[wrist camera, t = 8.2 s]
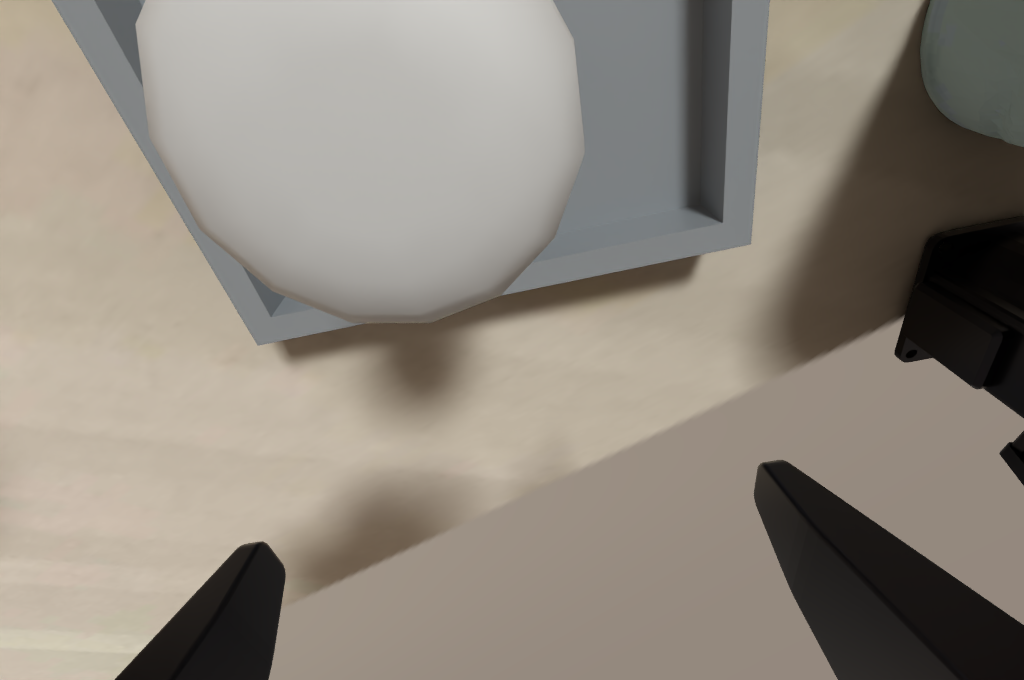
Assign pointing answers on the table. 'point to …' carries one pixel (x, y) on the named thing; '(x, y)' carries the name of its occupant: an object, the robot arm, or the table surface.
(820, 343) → the table surface
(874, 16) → the table surface
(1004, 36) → the teal cup
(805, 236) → the table surface
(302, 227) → the salt shaker
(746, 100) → the tray
